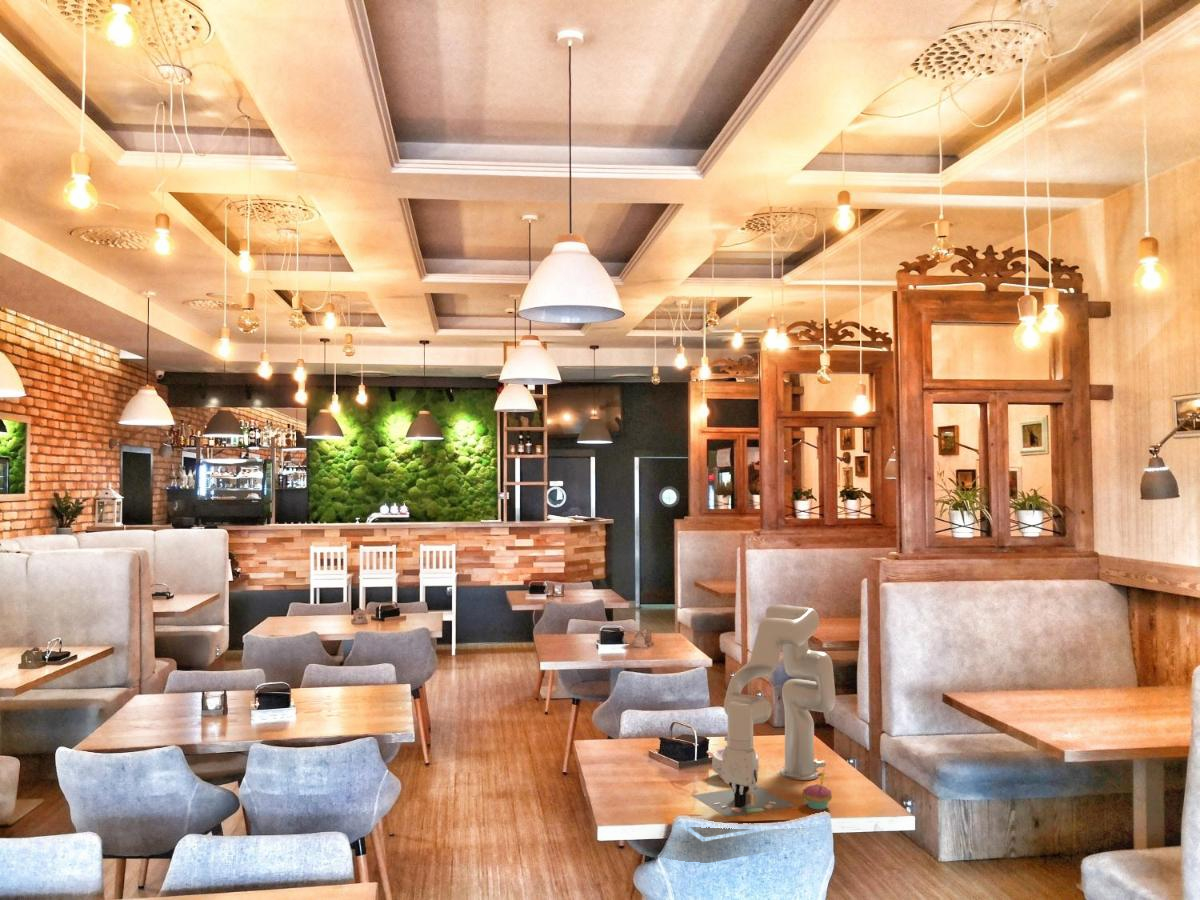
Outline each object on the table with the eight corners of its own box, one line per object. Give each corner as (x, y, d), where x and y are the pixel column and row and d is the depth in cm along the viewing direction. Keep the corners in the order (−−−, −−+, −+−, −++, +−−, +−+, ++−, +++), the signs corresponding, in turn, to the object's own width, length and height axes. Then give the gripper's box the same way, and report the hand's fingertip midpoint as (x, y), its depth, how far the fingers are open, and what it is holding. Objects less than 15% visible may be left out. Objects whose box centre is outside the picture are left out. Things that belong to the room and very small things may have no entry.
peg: (732, 797, 283) (732, 780, 283) (747, 796, 284) (748, 780, 284) (744, 812, 270) (744, 795, 271) (760, 811, 271) (760, 794, 271)
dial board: (756, 788, 295) (756, 783, 295) (795, 809, 277) (795, 804, 277) (691, 798, 285) (691, 794, 285) (726, 820, 267) (726, 816, 267)
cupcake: (827, 804, 281) (827, 764, 281) (835, 814, 272) (835, 773, 273) (799, 804, 281) (799, 764, 281) (806, 814, 272) (806, 773, 273)
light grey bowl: (726, 788, 295) (726, 763, 295) (703, 774, 309) (704, 750, 309) (767, 783, 300) (767, 758, 301) (743, 769, 315) (743, 745, 315)
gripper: (712, 741, 275) (711, 803, 275) (755, 751, 265) (754, 816, 265) (726, 736, 281) (725, 797, 280) (768, 746, 271) (768, 809, 271)
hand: (739, 806), depth 273 cm, fingers closed
